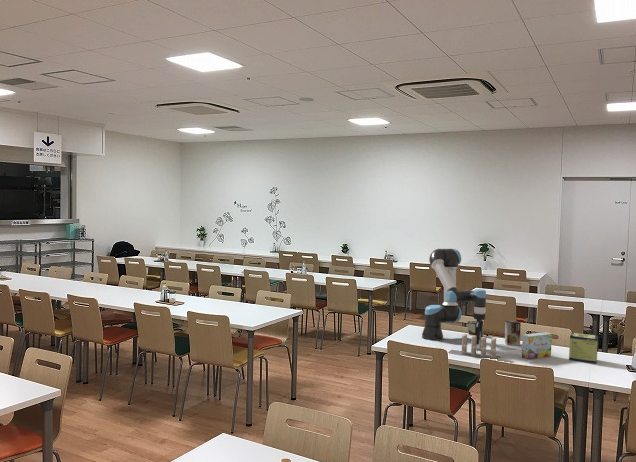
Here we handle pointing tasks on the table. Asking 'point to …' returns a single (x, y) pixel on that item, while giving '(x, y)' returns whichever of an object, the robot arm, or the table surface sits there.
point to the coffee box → (512, 332)
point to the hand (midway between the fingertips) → (478, 347)
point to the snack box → (536, 345)
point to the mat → (470, 354)
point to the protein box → (583, 348)
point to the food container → (471, 327)
